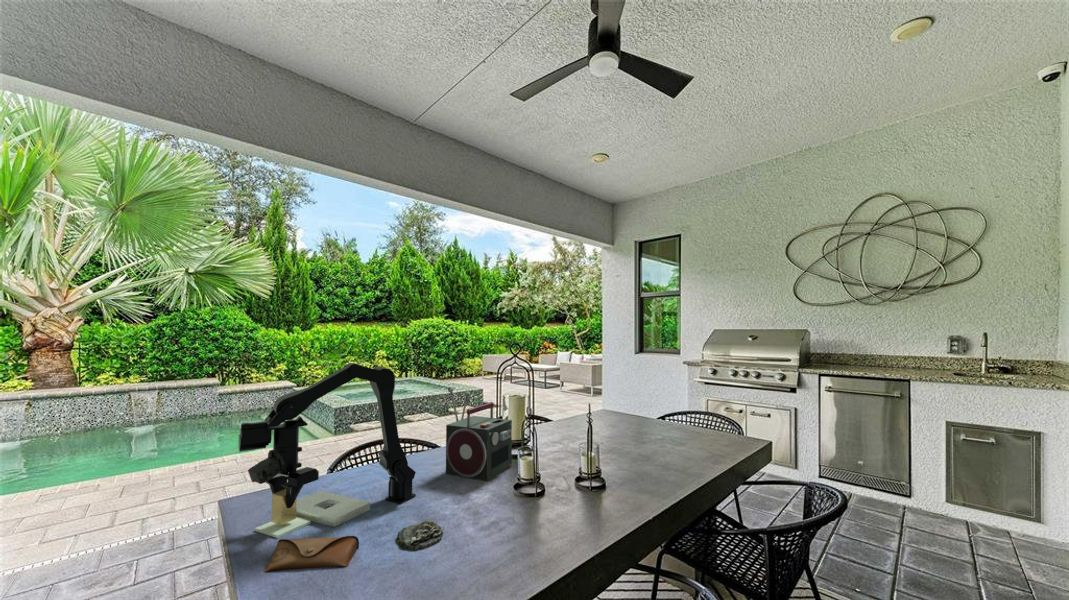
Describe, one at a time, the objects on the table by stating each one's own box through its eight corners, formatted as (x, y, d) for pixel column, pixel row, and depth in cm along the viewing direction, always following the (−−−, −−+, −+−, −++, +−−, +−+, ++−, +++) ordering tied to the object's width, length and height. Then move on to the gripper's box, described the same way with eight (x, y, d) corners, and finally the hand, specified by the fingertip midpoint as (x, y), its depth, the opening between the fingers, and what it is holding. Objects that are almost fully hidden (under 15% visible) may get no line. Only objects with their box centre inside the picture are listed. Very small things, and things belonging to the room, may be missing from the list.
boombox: (490, 482, 144) (490, 391, 146) (439, 473, 153) (440, 387, 155) (515, 466, 160) (515, 384, 162) (468, 459, 169) (469, 381, 171)
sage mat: (310, 523, 114) (310, 520, 114) (277, 538, 106) (277, 535, 106) (288, 516, 118) (288, 514, 118) (254, 530, 110) (254, 528, 110)
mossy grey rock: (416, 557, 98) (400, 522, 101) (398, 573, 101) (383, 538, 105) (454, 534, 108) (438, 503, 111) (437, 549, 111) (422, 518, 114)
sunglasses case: (259, 573, 91) (267, 537, 95) (271, 575, 97) (279, 540, 100) (349, 566, 93) (354, 531, 97) (356, 568, 99) (360, 535, 103)
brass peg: (295, 518, 113) (296, 491, 114) (281, 524, 110) (282, 496, 110) (285, 515, 115) (286, 488, 115) (271, 521, 111) (272, 493, 112)
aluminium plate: (369, 509, 123) (370, 502, 123) (333, 527, 112) (334, 519, 112) (321, 497, 131) (321, 490, 131) (283, 512, 120) (283, 505, 121)
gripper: (231, 448, 110) (229, 511, 109) (279, 458, 102) (277, 526, 101) (274, 438, 120) (272, 496, 119) (321, 446, 112) (319, 508, 111)
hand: (284, 506), depth 112 cm, fingers closed on brass peg, 4 cm apart
